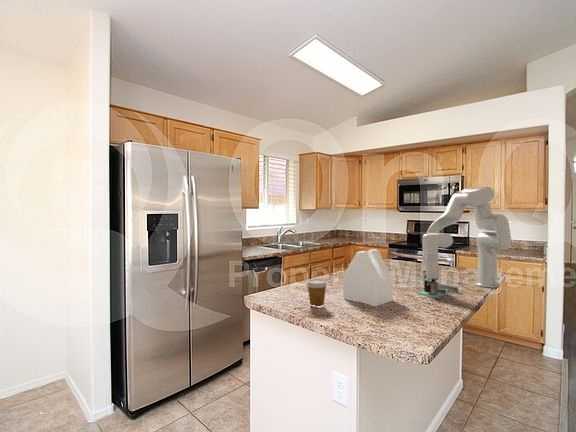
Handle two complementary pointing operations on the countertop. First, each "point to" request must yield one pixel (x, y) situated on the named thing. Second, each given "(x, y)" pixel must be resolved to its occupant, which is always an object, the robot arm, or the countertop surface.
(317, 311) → the countertop surface
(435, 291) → the wooden knob block
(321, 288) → the disposable coffee cup
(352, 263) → the milk carton
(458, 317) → the countertop surface
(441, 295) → the pad
